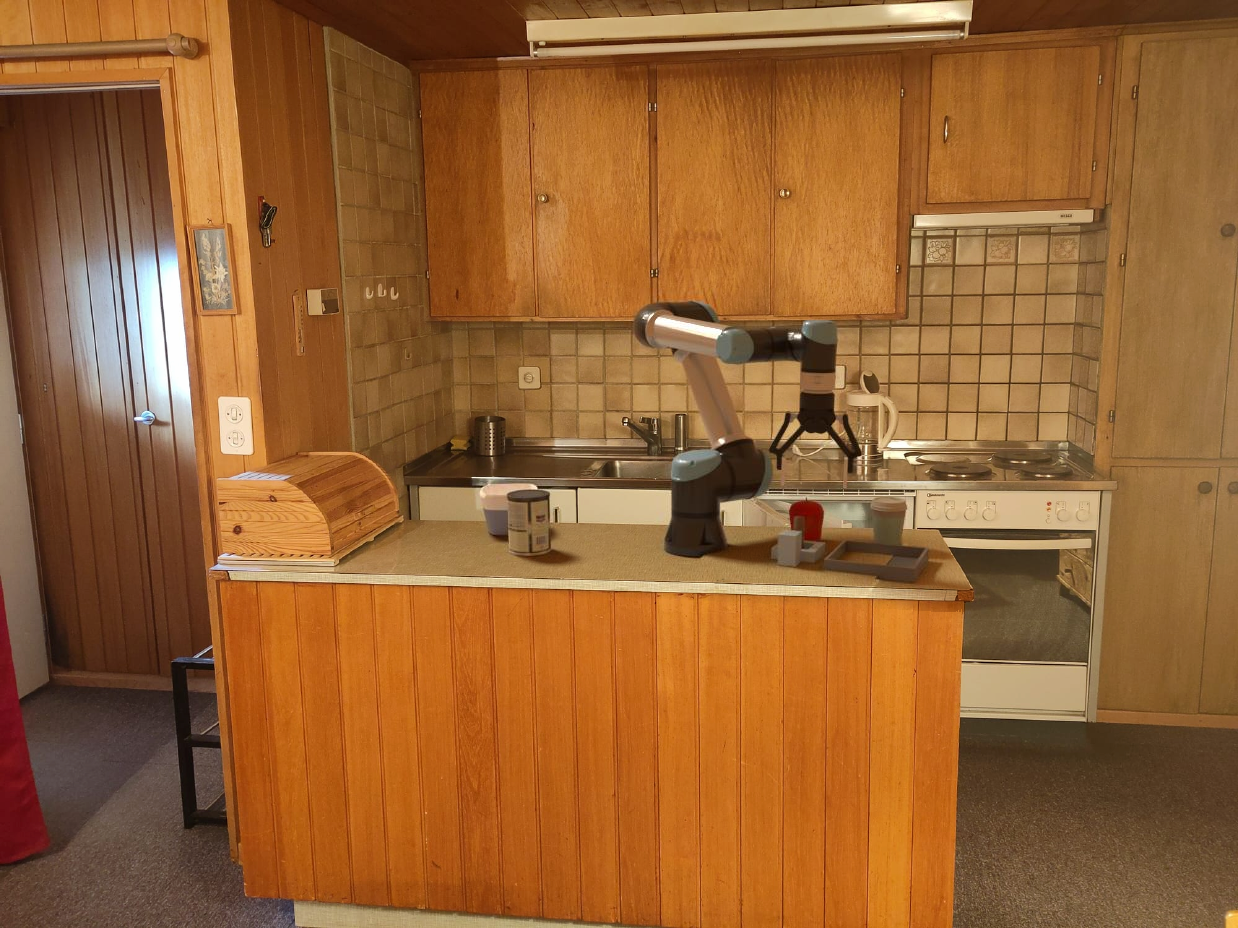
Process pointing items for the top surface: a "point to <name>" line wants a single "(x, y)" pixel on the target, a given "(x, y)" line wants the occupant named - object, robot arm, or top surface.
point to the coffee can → (529, 522)
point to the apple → (808, 518)
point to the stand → (800, 527)
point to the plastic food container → (499, 505)
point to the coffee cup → (888, 519)
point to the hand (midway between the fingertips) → (813, 485)
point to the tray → (899, 567)
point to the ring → (796, 549)
